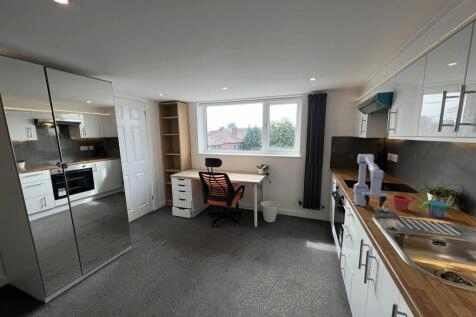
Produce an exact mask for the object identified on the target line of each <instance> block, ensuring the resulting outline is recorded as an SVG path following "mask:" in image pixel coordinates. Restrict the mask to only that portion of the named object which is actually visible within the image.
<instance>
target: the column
mask: <svg viewBox="0 0 476 317" xmlns="http://www.w3.org/2000/svg"><path fill="white" fill-rule="evenodd" d="M389 208H390V206H388V205H386V204H385V205H384V204H383V205H382V207H381V209H382V213H388V210H389Z"/></svg>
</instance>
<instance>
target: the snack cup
mask: <svg viewBox="0 0 476 317" xmlns="http://www.w3.org/2000/svg"><path fill="white" fill-rule="evenodd" d="M426 204H427V215H429V216H430V217H434V218H439V219H443V217H444V216H445V214H446V211H447V209H448V208H450V209H449V211H448V212H449V214H450V215H452V214H453V208H452V206H451V205H449V204H448V203H447V202H443V201H438V200H434V199H433V200H432V199H429V200H427V201H424V202H422V205H421V210H422V211H424V210H425V209H424V208H425V205H426Z"/></svg>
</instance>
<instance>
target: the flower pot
mask: <svg viewBox="0 0 476 317" xmlns="http://www.w3.org/2000/svg"><path fill="white" fill-rule="evenodd" d="M391 197H392V205H393V208H394V209H395V210H397V211H404V212H405V211H407V210H408V207H409V205H410V203H411V200H412V199H411V198H410V197H409V196H405V195H401V194H400V195H399V194H393V195H392V196H391Z"/></svg>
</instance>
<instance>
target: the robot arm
mask: <svg viewBox="0 0 476 317" xmlns="http://www.w3.org/2000/svg"><path fill="white" fill-rule="evenodd" d="M374 160H375V156H374V154H373V153H372V154H371V153H365V154H364V153H362V154H361V153H359V154H357V161H356V163H357V164H358V166H359V168H358V181H357V183H354V185H353V190H352V191H353V193H354V195H353V201H354V202H355V204H357V205H361V206H360V207H365V206H366V207H369V206H370V199H371V197H378V198H379V203H378V207H379V208H382V207H383V205H384V203H385V202H386V201H387V199H388V198H389V195H388V194H387V193H382V191H381V190H382V184H383V183H382V182H383V179H384V177H385V172H384V170H383V169H380V167H379V166H378V164H377V163H375V162H374ZM367 165H368V167H367ZM367 168H368V170H369V175H370V189H369V185H368V184H366V176H367ZM355 204H354V205H355Z"/></svg>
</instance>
